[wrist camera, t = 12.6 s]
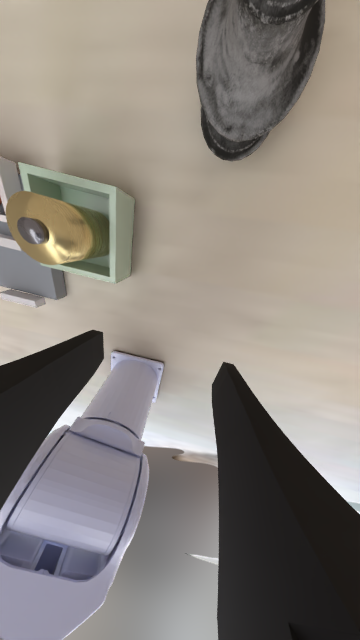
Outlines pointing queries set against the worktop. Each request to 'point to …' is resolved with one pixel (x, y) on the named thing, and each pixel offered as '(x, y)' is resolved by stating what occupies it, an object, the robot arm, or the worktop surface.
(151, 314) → the worktop surface
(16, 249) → the grey slab
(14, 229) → the cell
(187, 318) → the worktop surface
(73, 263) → the green open box
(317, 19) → the salt shaker
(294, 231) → the worktop surface
